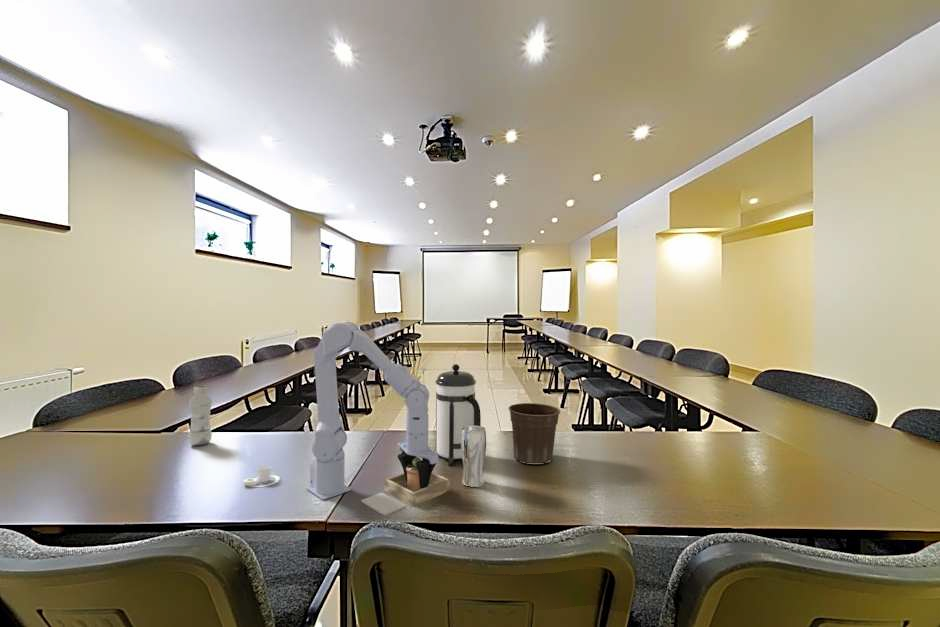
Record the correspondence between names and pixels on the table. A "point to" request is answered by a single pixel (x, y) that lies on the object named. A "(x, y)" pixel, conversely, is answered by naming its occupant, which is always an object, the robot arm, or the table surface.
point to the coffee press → (454, 411)
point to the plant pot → (533, 431)
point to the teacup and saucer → (262, 477)
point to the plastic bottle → (200, 417)
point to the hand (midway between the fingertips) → (416, 483)
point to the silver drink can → (473, 454)
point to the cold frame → (414, 498)
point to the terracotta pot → (413, 476)
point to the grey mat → (383, 504)
